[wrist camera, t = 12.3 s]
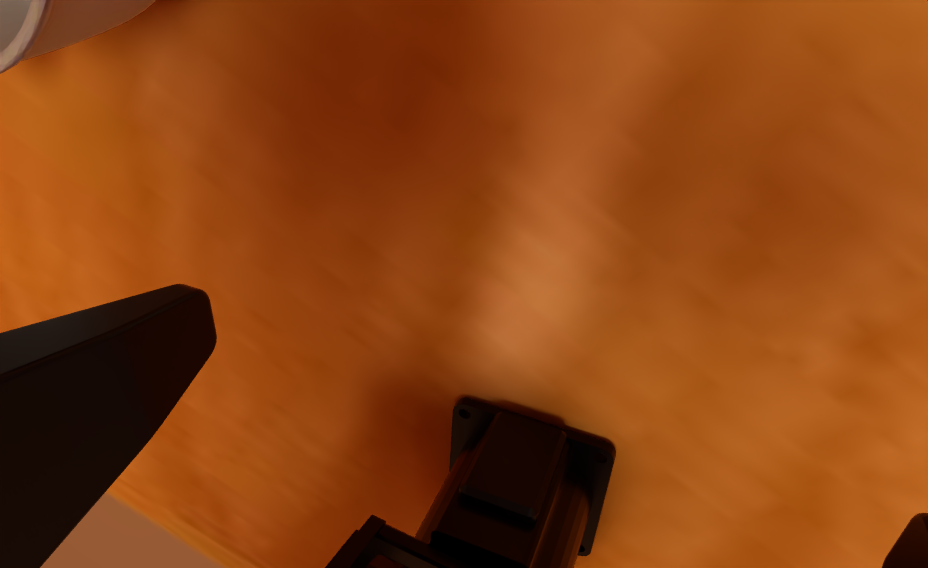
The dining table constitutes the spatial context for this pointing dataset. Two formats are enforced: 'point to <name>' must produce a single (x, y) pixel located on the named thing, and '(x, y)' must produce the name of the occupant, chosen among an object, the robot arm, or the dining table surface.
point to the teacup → (57, 24)
